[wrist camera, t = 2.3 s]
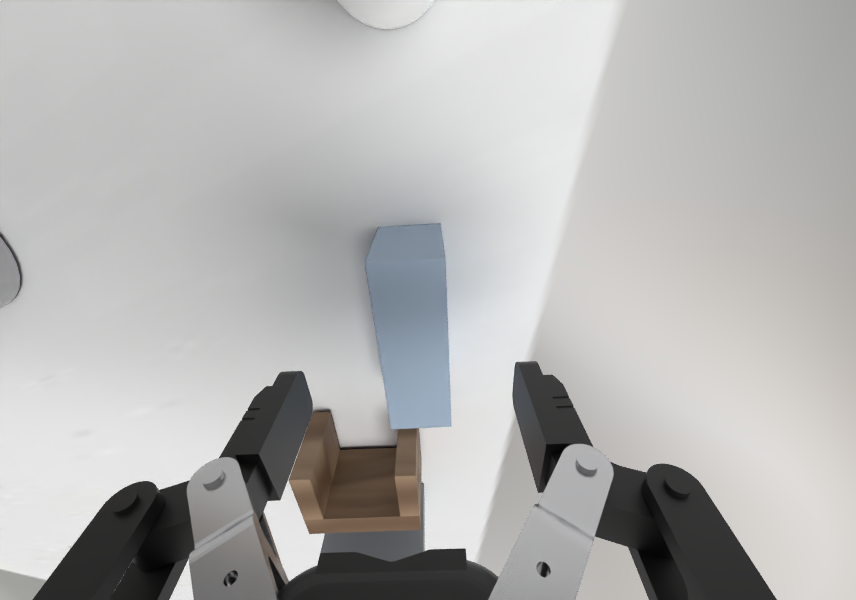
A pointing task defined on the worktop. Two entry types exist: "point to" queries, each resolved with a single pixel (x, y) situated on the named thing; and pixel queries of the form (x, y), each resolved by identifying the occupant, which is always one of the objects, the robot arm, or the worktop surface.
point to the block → (357, 482)
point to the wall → (379, 541)
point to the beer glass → (386, 11)
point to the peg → (411, 323)
